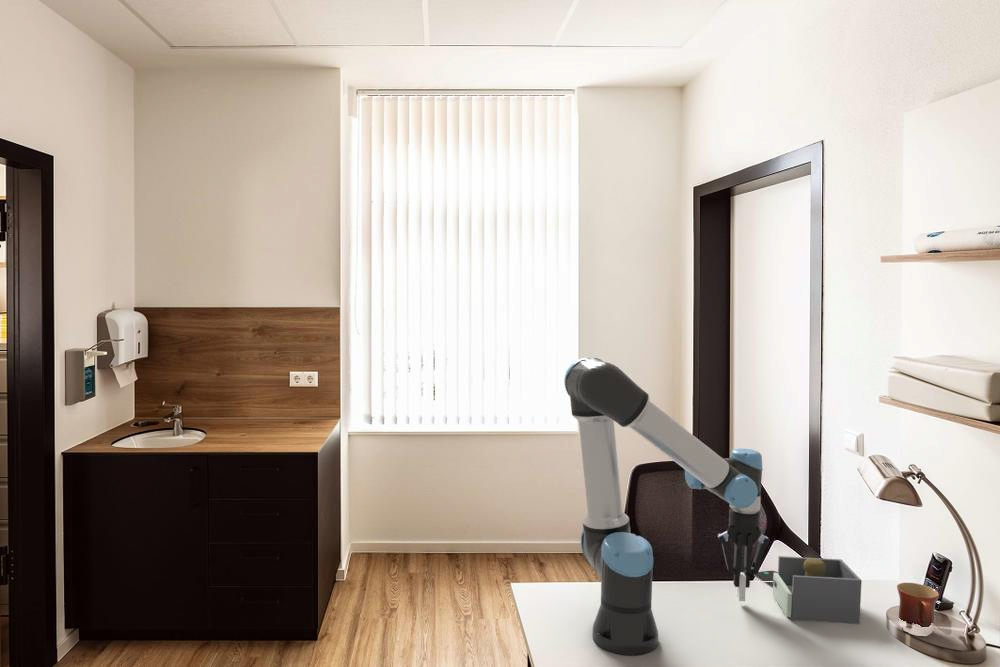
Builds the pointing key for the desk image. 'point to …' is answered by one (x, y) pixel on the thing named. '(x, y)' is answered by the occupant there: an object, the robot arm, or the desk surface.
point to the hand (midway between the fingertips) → (740, 598)
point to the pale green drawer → (782, 594)
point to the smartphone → (766, 577)
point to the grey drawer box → (822, 591)
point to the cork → (814, 567)
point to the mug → (917, 603)
